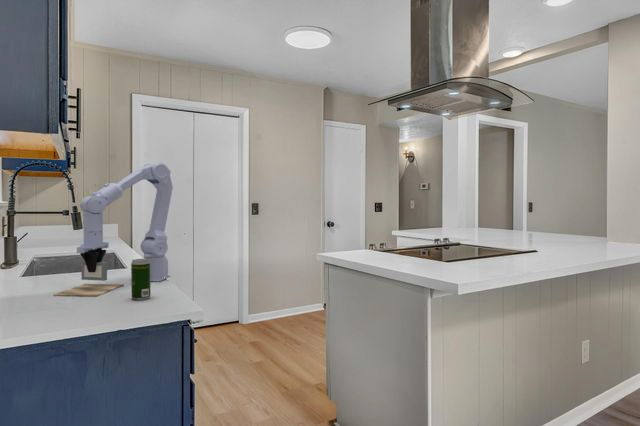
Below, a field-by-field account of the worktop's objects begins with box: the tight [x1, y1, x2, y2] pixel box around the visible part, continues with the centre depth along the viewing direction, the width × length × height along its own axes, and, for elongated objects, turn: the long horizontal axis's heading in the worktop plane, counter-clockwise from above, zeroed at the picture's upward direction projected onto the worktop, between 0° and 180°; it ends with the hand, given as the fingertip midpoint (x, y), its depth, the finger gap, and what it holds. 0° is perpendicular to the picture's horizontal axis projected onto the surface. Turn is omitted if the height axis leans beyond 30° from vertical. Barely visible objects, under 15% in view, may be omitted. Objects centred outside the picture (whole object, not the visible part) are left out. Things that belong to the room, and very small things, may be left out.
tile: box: [81, 260, 108, 282], centre depth 137 cm, size 2×8×6 cm, turn 87°
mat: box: [52, 283, 124, 298], centre depth 135 cm, size 16×14×1 cm
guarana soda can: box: [130, 258, 151, 301], centre depth 125 cm, size 5×5×12 cm
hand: (93, 271), depth 137 cm, fingers closed on tile, 1 cm apart
